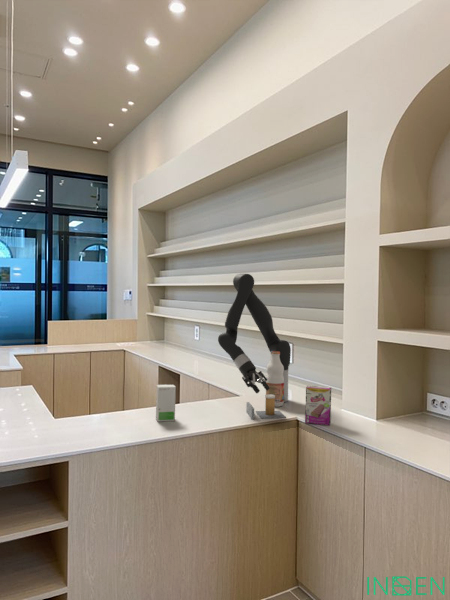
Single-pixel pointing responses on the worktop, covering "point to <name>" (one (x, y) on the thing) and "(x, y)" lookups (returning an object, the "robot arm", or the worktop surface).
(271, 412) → the amber medicine bottle
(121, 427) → the worktop surface
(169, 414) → the skincare box
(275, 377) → the fruit juice
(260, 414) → the dark slate mat
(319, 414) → the candy bar box
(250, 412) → the smoky grey acrylic wall
